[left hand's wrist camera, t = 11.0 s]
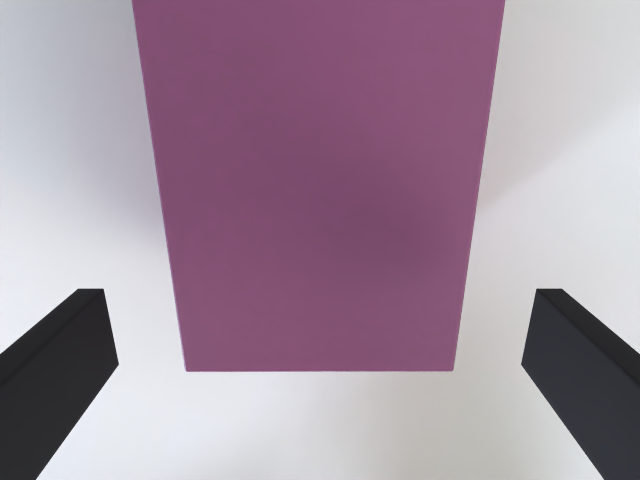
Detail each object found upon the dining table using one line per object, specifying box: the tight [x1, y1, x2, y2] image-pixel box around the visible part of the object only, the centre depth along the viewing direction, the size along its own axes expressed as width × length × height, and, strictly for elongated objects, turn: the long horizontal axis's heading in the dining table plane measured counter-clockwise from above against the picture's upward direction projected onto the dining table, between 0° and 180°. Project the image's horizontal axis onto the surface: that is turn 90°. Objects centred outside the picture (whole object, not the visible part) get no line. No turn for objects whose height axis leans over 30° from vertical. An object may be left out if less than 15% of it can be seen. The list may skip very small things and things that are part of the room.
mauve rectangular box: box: [132, 0, 505, 372], centre depth 19 cm, size 14×11×10 cm
